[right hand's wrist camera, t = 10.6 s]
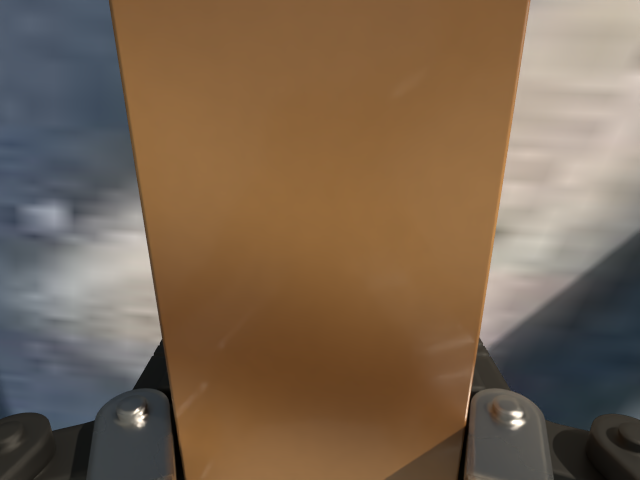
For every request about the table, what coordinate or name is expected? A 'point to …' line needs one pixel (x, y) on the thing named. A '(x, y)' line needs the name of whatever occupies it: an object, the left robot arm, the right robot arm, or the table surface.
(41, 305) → the table surface
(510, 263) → the table surface
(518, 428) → the right robot arm
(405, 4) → the post
